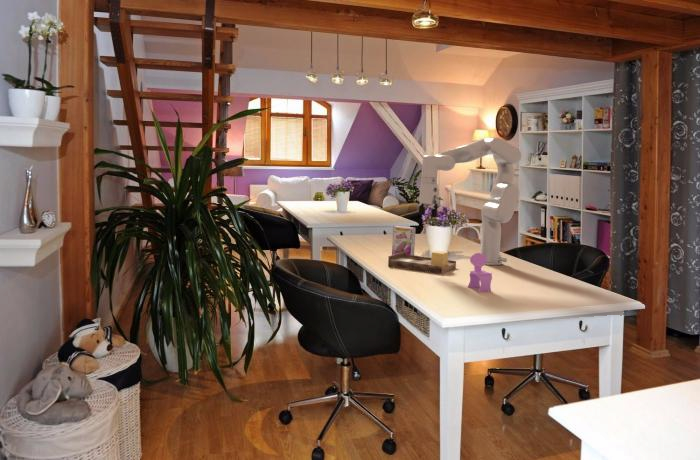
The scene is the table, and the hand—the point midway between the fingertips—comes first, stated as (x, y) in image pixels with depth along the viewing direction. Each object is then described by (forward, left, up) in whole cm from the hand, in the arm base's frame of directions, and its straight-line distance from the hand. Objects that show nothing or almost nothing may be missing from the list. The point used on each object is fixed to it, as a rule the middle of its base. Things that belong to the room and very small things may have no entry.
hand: (427, 216), depth 294 cm
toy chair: (-38, +29, -26) cm, 54 cm away
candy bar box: (+20, -15, -26) cm, 36 cm away
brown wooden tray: (+1, +2, -25) cm, 25 cm away
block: (-8, +2, -23) cm, 24 cm away
